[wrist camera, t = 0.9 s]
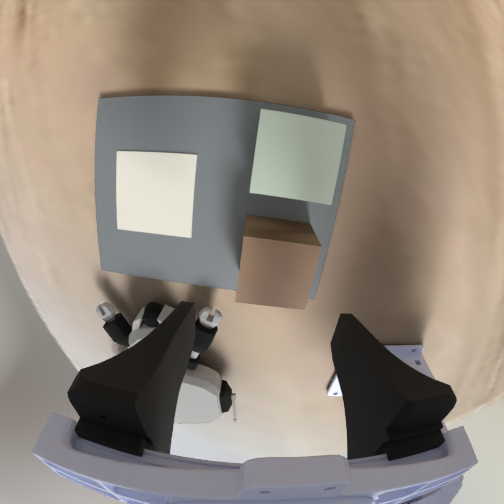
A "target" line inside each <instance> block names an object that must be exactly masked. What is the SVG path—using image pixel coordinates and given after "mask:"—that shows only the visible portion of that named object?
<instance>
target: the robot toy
mask: <svg viewBox="0 0 504 504" xmlns="http://www.w3.org/2000/svg"><path fill="white" fill-rule="evenodd" d="M211 309H212V308H211V307H204V308H203V309H202V310H201V311H200V313H199V318H198V319H197V320H196V321H195V339H194V345H193V350H192V354H191V357H190V360H189V363H188V366H187V369H186V372H185V375H184V378H183V381H182V385H181V388H180V392H179V396H178V401H177V407H176V412H175V418H174V423H179V424H202V423H210V422H212V421H215V420H218V419H220V418H221V416H222V415H223V413H224V412H228V411H229V409H230V407H231V405H232V401H233V414H234V420H233V421H234V424H235V425H236V422H237V420H236V411H235V400H236V393H232V389H231V388H230V386H229V385H228V383H227V381H224V380H222V379H221V377H220V374H219V373H217V372H216V371H215V370H213V369H211V368H209V367H207V366H204V365H201V364H199V362H200V354H199V353H200V352H203V351H205V350H207V349H208V348H209V346H210V345H211V343H212V341H213V338H214V336H215V334H216V332H217V330H218V329H217V325H218V324H220V323H221V320H222V315H221V313H220V311H219V310H216V311H215V314H214V316H212V315H210V314H209V313H210V312H211ZM173 310H174V308H172V307H170V306H168V305H165V306H164V308H163V307H162V306H161V305H160V304H159V303H155V302H151V303H148V304H147V305H146V306H144V307H142V309H141V310H140V312H139V313H138V315H137V316H136V318H135V320H134V321H133V326H132V327H131V326H130V325H129V323H128V322H127V321H126V319H125V318H124V316H123V315H122V314H121V313H118V314H116V315H115V311H114V307H112V306H111V305H110V304H109V303H107V302H104V303H103V304H102V305H101V304H100V305H99V306H98V307H97V310H96V311H97V313H98V315H99V317H100V318H101V319H103V320H104V321H106V323H105V324H104V326H103V328H104V329H105V330H106V332H107V333H108V334H109V336H110V337H111V338H112V340H113V341H114V342H116V343H118V344H121V345H123V346H126V347H128V349H129V348H130V347H132V346H133V345H135V344H136V343H138V342H139V341H140V340H142V339H143V338H144V337H146V336H147V335H148V334H149V333H150V332H151V331H153V330H154V329H155V328H156V327H157V326H158V325H159V324H160V323H161V322H162V321H163V320H164V319H165V318H166V317H167V316H168V315H169V314H170V313H171V312H172V311H173Z"/></svg>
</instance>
